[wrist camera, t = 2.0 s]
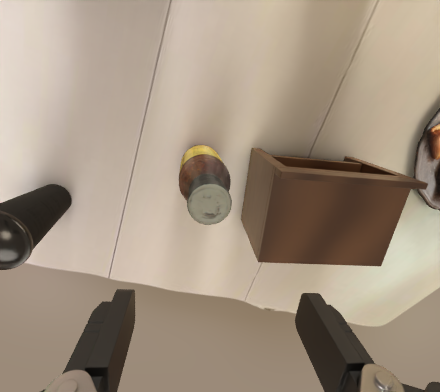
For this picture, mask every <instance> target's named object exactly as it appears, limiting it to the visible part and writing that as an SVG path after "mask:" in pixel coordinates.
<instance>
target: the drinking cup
mask: <svg viewBox="0 0 440 392" xmlns="http://www.w3.org/2000/svg"><path fill="white" fill-rule="evenodd" d="M70 205H71V196H70V194H69V192H68V191H67V190H66V189H65V188H63V187H61V186H59V185H55V184H50V185H47V186H44V187H41V188H39V189H36V190H34V191H31V192H28V193H26V194H23V195H21V196H18V197H15V198H13V199H10V200H8V201H5V202H3V203H0V270H7V269H12V268H15V267H18V266H19V265H21V264H23V263H24V262H25V261H26V260H27V259H28V258H29V257H30V255H31V253H32V250H33V249H34V248H35V246H36V245H37V244H38V243H39V242H40V241H41V239H42V238H43V237H44V236H45V235H46V234H47V232H48V231H49V230H50V229H51V228H52V227H53V225H54V224H55V223H56V222H57V221H58V220H59V219H60V217H61V216H62V215H63V214H64V213H65V212H66V210H67V209H68V208H69V207H70Z"/></svg>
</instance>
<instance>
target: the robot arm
mask: <svg viewBox="0 0 440 392" xmlns="http://www.w3.org/2000/svg"><path fill="white" fill-rule="evenodd" d="M134 323H135V291H134V290H123V289H117V290H116V292H115V295H114V297H113V300H112V302H102V303H101V304H100V305H99V306H98V307H97V308H96V309H95V310H94V311H93V312H92V314H91V316H90V318H89V321H88V324H87V325H86V327H85V329H84V332H83V333H82V335H81V337H80V339H79V341H78V343H77V345H76V348H75V350H74V352H73V354H72V356H71V358H70V360H69V362H68V364H67V366H66V368H65V370H64V372H63V373H62V375H60V376H58V377H57V378H56V379H54V380H53V381H52V382H51V383H50V384H49V385H48V387H47V388H46V389H45V390H43V391H41V392H117V389H118V386H119V382H120V378H121V374H122V371H123V367H124V363H125V359H126V356H127V352H128V348H129V344H130V341H131V337H132V333H133V329H134ZM295 323H296V328H297V331H298V334H299V336H300V338H301V340H302V343H303V345H304V347H305V349H306V351H307V354H308V356H309V358H310V360H311V362H312V365H313V367H314V369H315V371H316V374H317V376H318V378H319V380H320V383H321V385H322V387H323V389H324V391H325V392H440V383H439V382H431V383H429V384H428V385H427V387H426V389H425V390H422V389H418V388H415V387H412V386H409V385H405V384H402V383H401V382H400V381H399V380H398V379H397V377H396V376H394V374H392V373H391V372H390V371H388V370H387V369H386V368H384V367H382V366H379V365H377V364H375V363H374V361H373V360H372V358H371V357H370V356H369V354H368V353H367V351H366V350H365V348H364V347H363V345H362V344H361V343H360V341H359V340H358V338H357V337H356V335H355V334H354V333H353V332H352V330H351V328H350V327H349V326H348V325H347V322H346V321H345V319H344V318H343V317H342V315H341V314H340V313H339V312H338V311H337V310H336V309H335V308H334V307H332V306H331V305H327V304H326V302H325V301H324V299H323V298H322V296H321V295H320V294H318V293H303V294H302V295H301V299H300V302H299V306H298V310H297V314H296V318H295Z"/></svg>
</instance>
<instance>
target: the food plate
mask: <svg viewBox="0 0 440 392" xmlns="http://www.w3.org/2000/svg"><path fill="white" fill-rule="evenodd" d="M414 170H415V171H414V179H417V180H420V181H423V182H425V183H428V186H427V189H426V190H423V189H417V191H418V193H419V194H420V195H421V196H422V197H423V199H424V200H425V202H426V204H427V205H428V206H429V207H431V208H433V209H438V210H440V108H439V109H438V111H437V112H436V114H435V115H434V116H433V118H432V119H431V121H429V123H428V124H427V126H426V127H425V129H424V132H423V135H422V137H421V139H420V141H419V143H418V147H417V154H416V160H415V168H414Z"/></svg>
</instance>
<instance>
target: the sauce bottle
mask: <svg viewBox="0 0 440 392" xmlns="http://www.w3.org/2000/svg"><path fill="white" fill-rule="evenodd" d="M179 187H180V191H181V194H182V195H183V196H184V198H185V199H186V200H187V207H188V211H189V213H190V215H191V217H192V218H193V219H194V220H196V221H197V222H199V223H202V224H205V225H211V224H216V223H219V222H221V221H222V220H224V219H225V218H226V217H227V216H228V214H229V212H230V210H231V203H232V201H231V197H230V194H229V189H230V175H229V172H228V170H227V168H226V166H225V165H224V163H223V162H222V160H221V159H220V157H219V155H218V154H217V153H216V152H215V151H214V150H213V149H212V148H210V147H208V146H205V145H197V146H194V147H192V148H190V149H189V150H187V151H186V153H185V154H184V156H183V158H182V161H181V166H180V173H179Z"/></svg>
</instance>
